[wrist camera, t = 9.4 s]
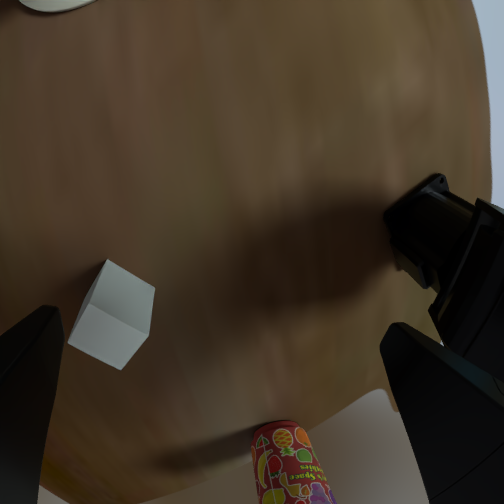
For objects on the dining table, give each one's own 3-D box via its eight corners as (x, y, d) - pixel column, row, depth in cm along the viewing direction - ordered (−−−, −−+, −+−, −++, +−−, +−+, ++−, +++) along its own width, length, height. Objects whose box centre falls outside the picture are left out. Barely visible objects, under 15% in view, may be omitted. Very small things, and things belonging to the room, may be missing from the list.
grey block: (107, 258, 20) (89, 303, 16) (155, 287, 22) (148, 335, 17) (85, 296, 21) (67, 342, 17) (129, 321, 23) (121, 370, 18)
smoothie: (321, 420, 35) (373, 556, 17) (275, 449, 37) (311, 575, 20) (276, 407, 31) (326, 574, 14) (228, 439, 33) (258, 587, 16)
